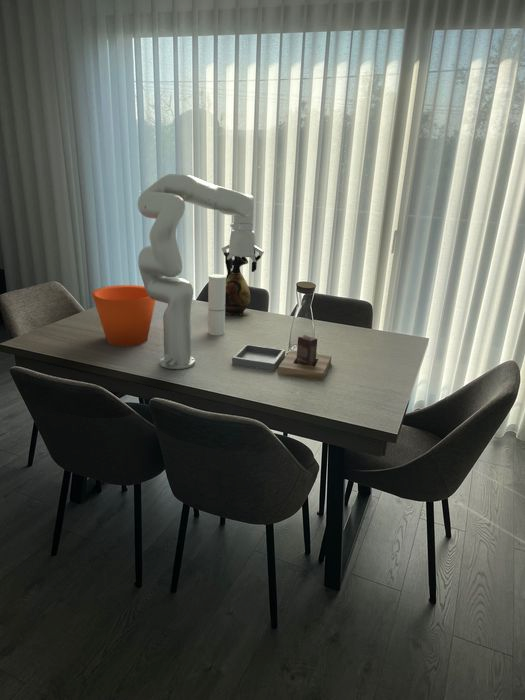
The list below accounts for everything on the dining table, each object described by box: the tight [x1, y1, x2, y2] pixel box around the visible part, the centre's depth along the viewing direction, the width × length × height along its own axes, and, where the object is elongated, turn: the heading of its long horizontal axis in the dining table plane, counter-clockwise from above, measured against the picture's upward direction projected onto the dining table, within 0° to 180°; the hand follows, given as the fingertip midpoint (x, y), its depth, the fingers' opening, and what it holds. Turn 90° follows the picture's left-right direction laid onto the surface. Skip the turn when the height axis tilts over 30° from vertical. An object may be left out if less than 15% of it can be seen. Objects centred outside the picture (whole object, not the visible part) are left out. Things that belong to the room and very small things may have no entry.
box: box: [296, 334, 318, 367], centre depth 186 cm, size 6×4×12 cm
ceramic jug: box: [224, 251, 251, 316], centre depth 249 cm, size 17×15×30 cm
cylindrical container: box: [207, 273, 227, 336], centre depth 218 cm, size 7×7×25 cm
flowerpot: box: [91, 284, 156, 347], centre depth 206 cm, size 25×25×20 cm
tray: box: [231, 343, 286, 372], centre depth 193 cm, size 16×16×3 cm
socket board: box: [277, 349, 332, 382], centre depth 187 cm, size 18×16×3 cm
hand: (241, 270), depth 208 cm, fingers open, 9 cm apart
